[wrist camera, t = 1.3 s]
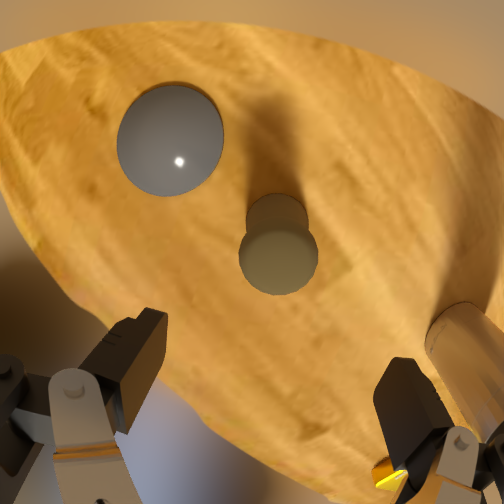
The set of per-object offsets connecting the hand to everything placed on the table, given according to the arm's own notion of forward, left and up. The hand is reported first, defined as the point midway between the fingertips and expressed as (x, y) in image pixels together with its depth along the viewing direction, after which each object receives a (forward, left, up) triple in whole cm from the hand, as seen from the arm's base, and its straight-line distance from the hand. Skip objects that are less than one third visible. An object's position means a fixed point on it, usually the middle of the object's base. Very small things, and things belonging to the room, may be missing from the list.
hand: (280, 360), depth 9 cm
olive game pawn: (0, 0, -20) cm, 20 cm away
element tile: (-39, +38, -20) cm, 58 cm away
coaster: (+12, -6, -20) cm, 24 cm away
